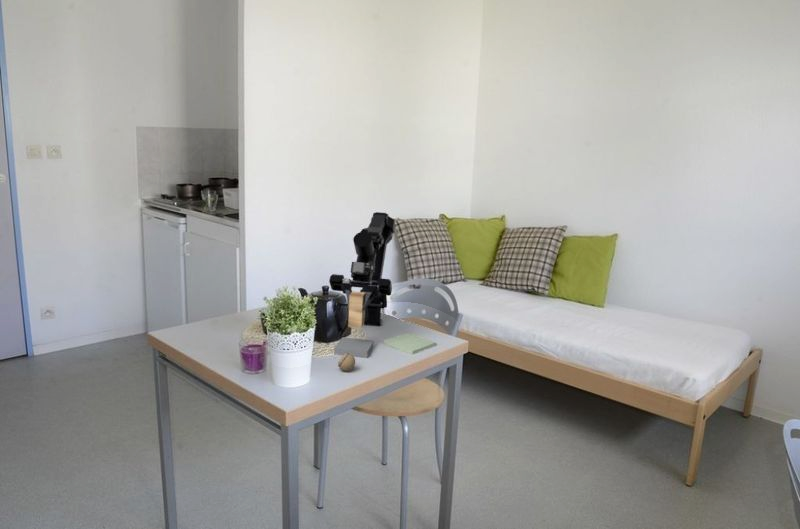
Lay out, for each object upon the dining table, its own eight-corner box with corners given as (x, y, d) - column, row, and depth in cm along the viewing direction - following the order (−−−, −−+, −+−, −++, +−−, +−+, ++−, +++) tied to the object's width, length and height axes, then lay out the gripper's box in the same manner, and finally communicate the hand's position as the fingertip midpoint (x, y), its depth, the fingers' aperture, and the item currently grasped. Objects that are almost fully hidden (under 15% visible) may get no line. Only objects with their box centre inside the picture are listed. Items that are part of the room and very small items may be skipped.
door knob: (350, 366, 173) (351, 349, 172) (357, 372, 168) (358, 355, 167) (334, 368, 170) (334, 351, 169) (341, 374, 166) (342, 357, 165)
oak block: (351, 322, 186) (352, 291, 184) (363, 324, 185) (365, 292, 183) (348, 326, 182) (349, 294, 180) (361, 328, 181) (362, 295, 179)
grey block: (342, 343, 191) (342, 337, 190) (373, 346, 189) (373, 340, 189) (334, 354, 181) (334, 347, 180) (367, 357, 180) (367, 351, 179)
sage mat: (383, 343, 192) (383, 340, 192) (407, 335, 201) (407, 332, 201) (412, 354, 185) (412, 351, 184) (436, 345, 194) (436, 342, 193)
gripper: (331, 248, 184) (320, 292, 175) (392, 253, 181) (384, 298, 173) (337, 268, 193) (327, 311, 185) (395, 273, 191) (387, 316, 182)
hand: (355, 309), depth 181 cm, fingers closed on oak block, 4 cm apart
